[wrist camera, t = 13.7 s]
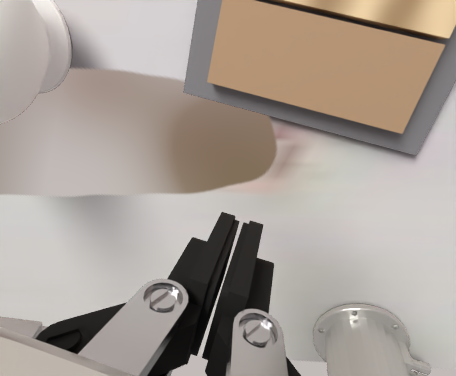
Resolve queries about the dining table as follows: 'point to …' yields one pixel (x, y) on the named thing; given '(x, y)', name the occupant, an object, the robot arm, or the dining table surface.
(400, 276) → the dining table surface
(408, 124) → the floor board
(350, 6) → the board
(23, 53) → the decorative vase
